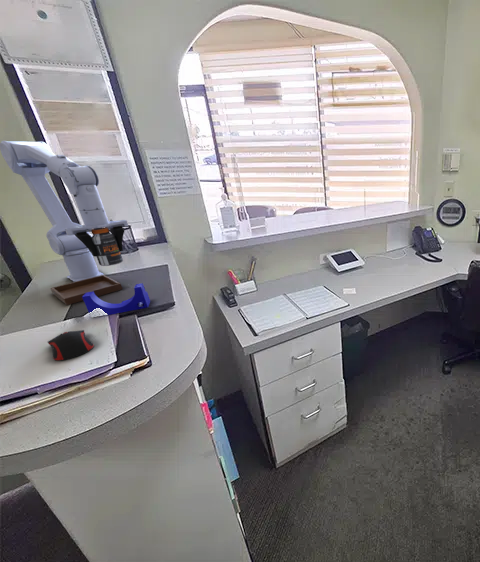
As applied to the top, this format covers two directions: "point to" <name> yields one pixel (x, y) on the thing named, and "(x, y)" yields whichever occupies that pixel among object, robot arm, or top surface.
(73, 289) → the desk tray
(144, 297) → the blue curved cradle
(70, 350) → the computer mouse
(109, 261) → the pill bottle
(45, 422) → the top surface
